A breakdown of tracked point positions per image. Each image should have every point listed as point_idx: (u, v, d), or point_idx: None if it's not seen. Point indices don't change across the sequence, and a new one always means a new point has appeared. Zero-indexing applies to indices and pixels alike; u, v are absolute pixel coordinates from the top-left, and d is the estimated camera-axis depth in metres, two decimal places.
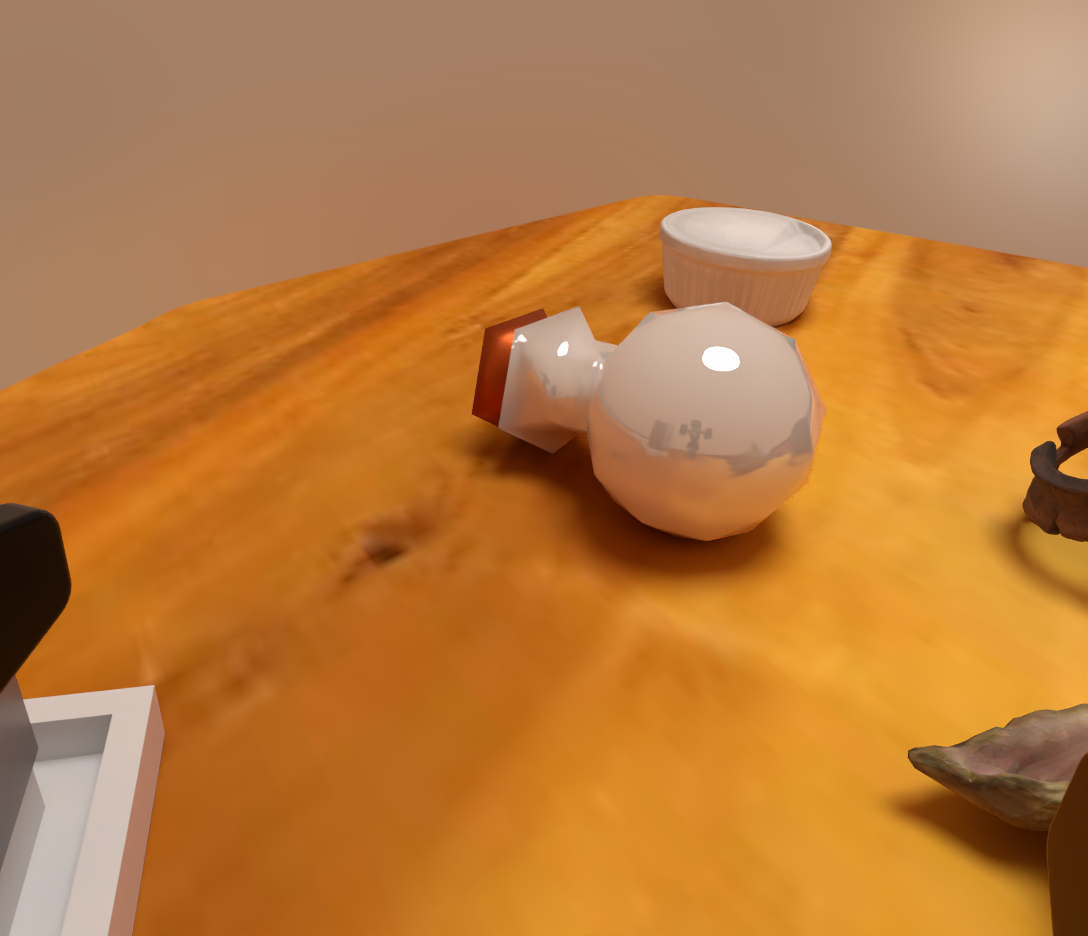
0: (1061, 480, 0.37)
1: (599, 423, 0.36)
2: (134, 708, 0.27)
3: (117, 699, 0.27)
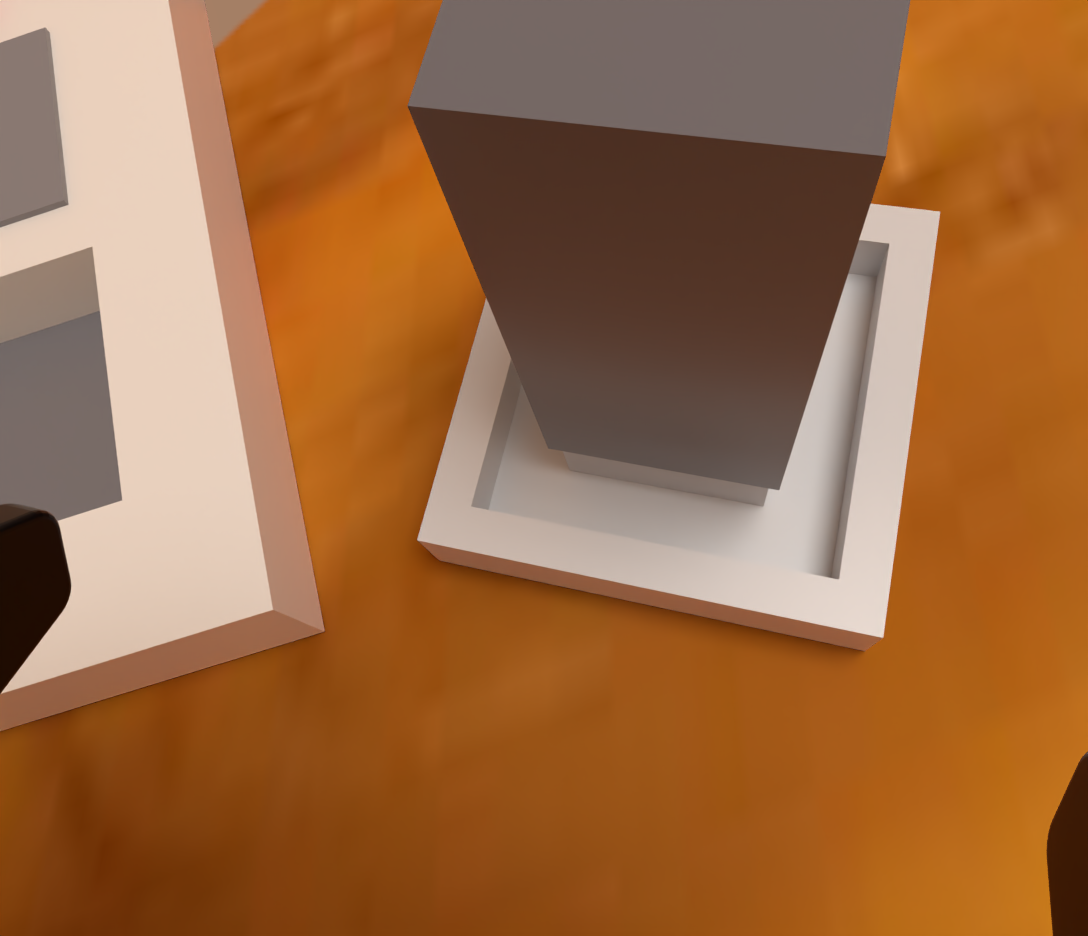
0: None
1: None
2: (915, 242, 0.21)
3: (895, 222, 0.21)
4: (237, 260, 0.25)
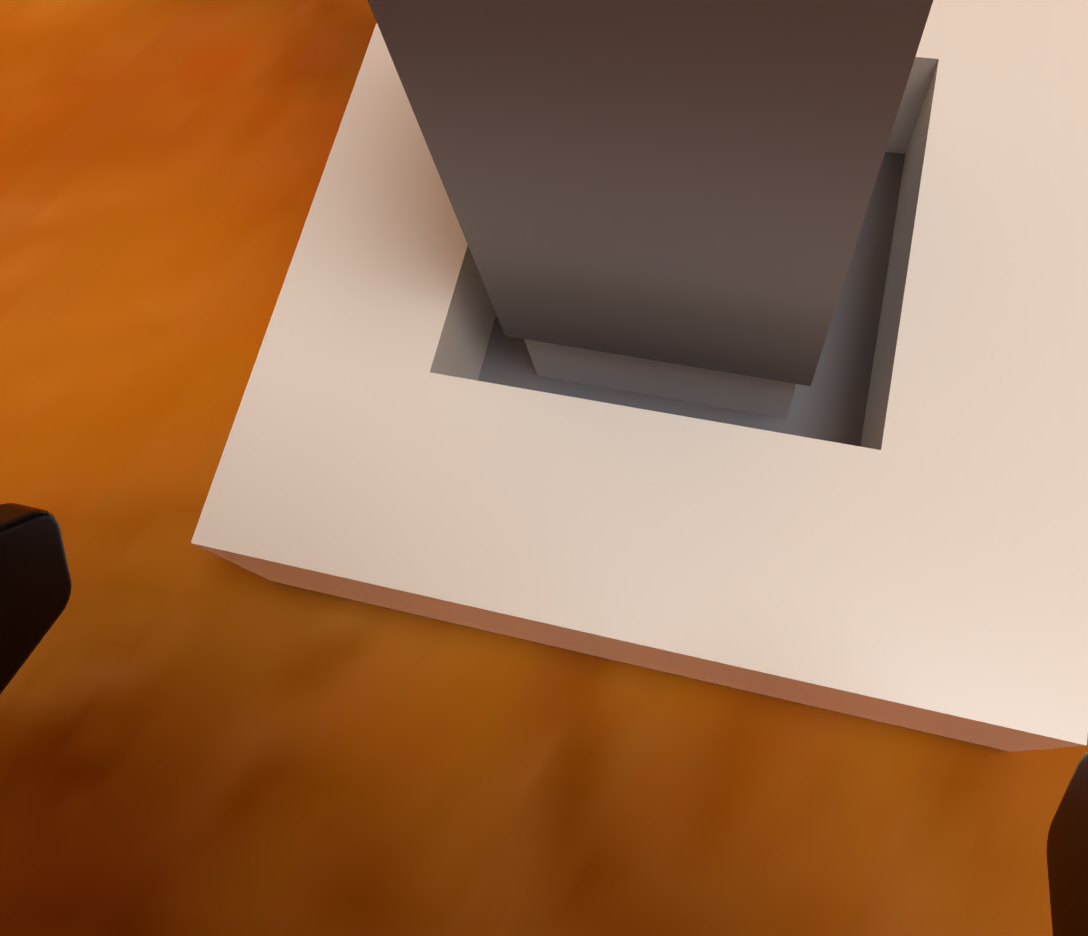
0: None
1: None
2: None
3: None
4: None
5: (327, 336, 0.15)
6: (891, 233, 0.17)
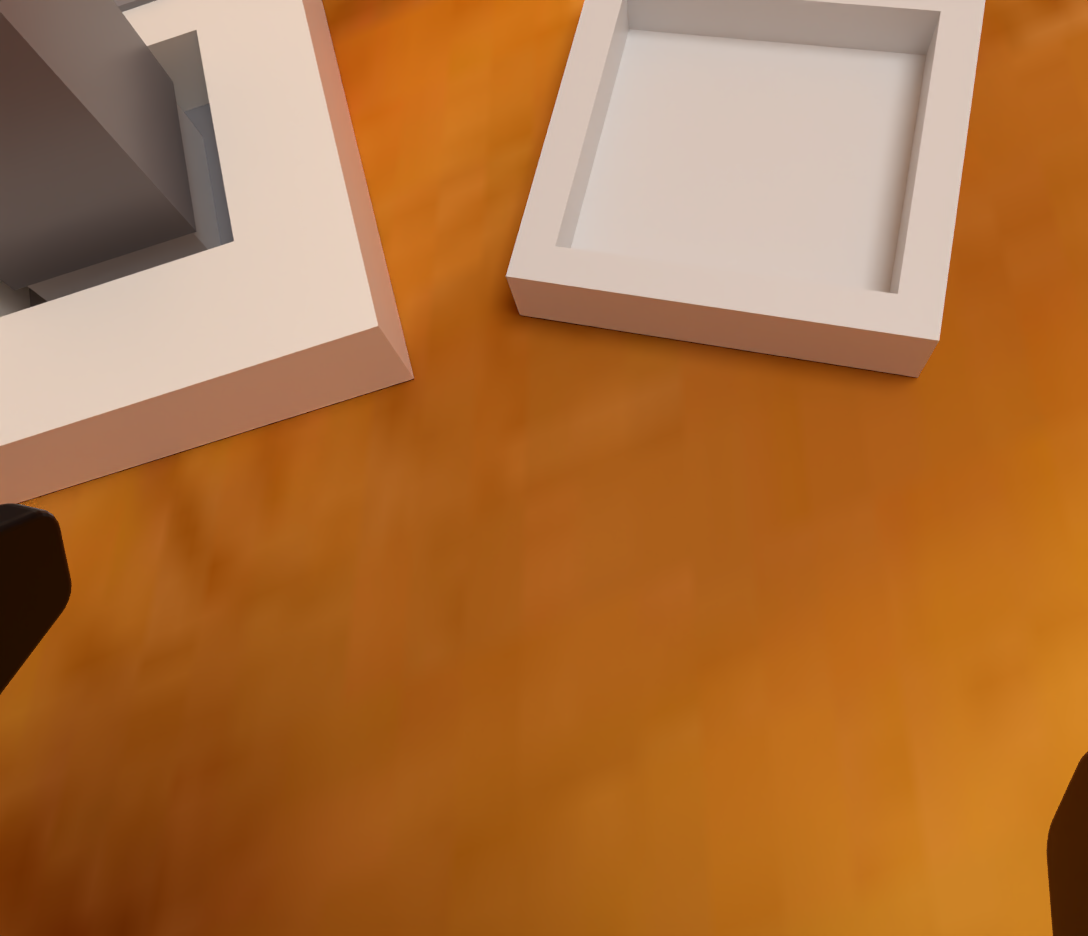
0: None
1: None
2: (965, 9, 0.23)
3: None
4: (326, 53, 0.26)
5: None
6: None
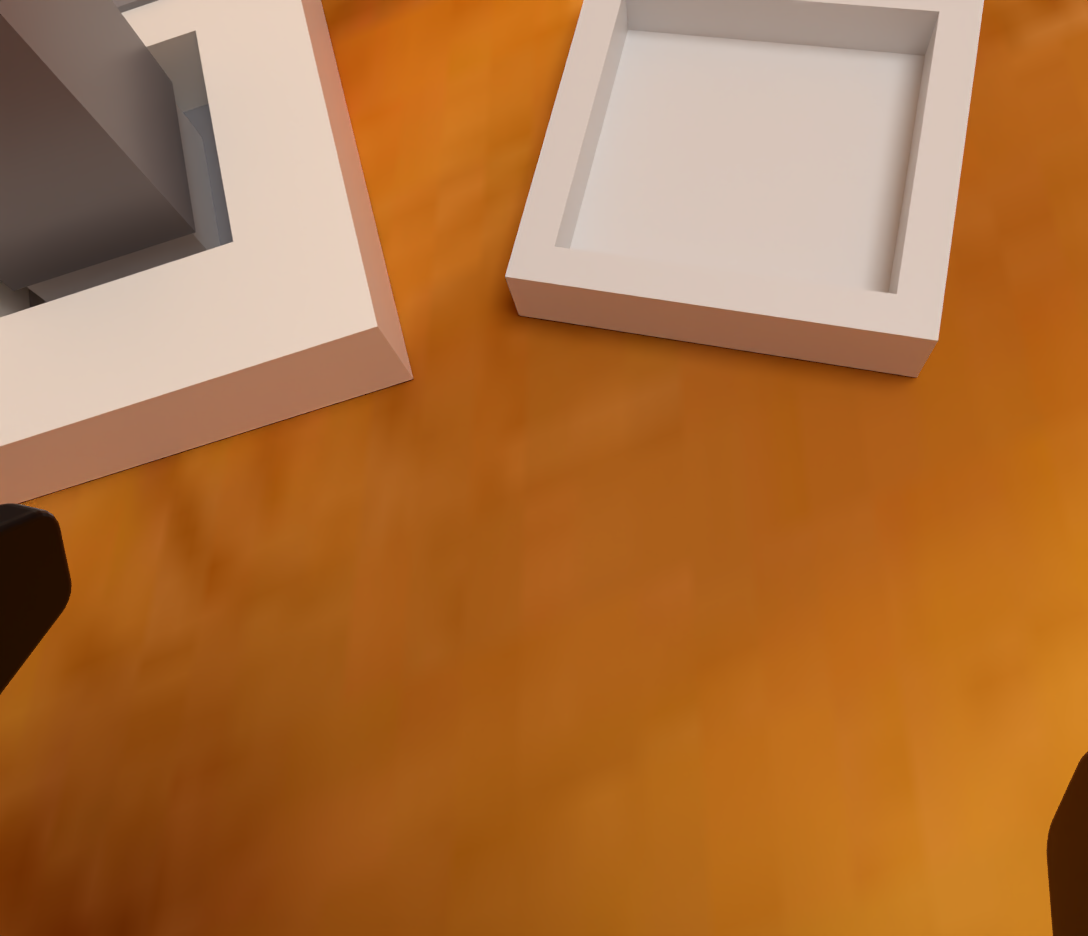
0: None
1: None
2: (964, 9, 0.23)
3: None
4: (325, 53, 0.26)
5: None
6: None
